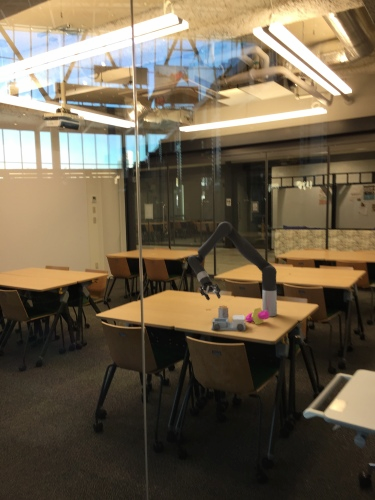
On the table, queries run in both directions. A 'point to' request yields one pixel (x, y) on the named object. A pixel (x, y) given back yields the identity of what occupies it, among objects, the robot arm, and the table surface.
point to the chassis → (229, 323)
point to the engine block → (223, 312)
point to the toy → (257, 316)
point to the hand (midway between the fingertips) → (214, 298)
